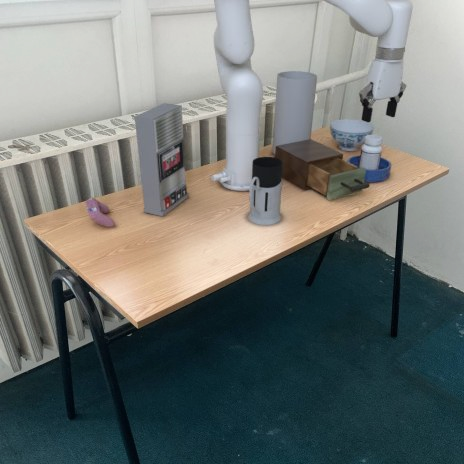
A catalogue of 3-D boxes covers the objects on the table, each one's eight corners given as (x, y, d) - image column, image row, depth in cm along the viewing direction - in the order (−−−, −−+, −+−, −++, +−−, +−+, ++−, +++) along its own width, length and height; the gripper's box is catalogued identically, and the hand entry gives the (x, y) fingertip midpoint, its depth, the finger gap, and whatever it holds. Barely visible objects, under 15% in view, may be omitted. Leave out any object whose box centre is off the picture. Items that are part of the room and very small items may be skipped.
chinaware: (353, 158, 164) (356, 135, 160) (318, 147, 173) (321, 125, 168) (378, 148, 173) (382, 126, 168) (344, 138, 181) (347, 116, 177)
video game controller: (96, 218, 130) (79, 198, 126) (110, 209, 130) (94, 188, 126) (101, 235, 123) (84, 214, 118) (116, 225, 123) (100, 204, 118)
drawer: (375, 198, 137) (379, 174, 133) (341, 207, 132) (345, 183, 128) (329, 174, 150) (332, 153, 146) (297, 182, 145) (299, 160, 141)
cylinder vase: (300, 146, 173) (308, 70, 158) (314, 158, 164) (323, 78, 149) (267, 149, 171) (271, 72, 155) (279, 162, 161) (285, 80, 146)
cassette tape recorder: (163, 217, 128) (155, 120, 113) (144, 213, 130) (133, 116, 115) (189, 197, 138) (184, 105, 123) (170, 193, 140) (164, 102, 125)
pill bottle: (363, 168, 156) (370, 132, 149) (380, 173, 153) (388, 136, 146) (353, 173, 153) (359, 137, 146) (370, 178, 149) (377, 141, 142)
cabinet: (339, 181, 148) (343, 153, 143) (304, 190, 143) (307, 161, 138) (307, 165, 159) (310, 138, 154) (273, 173, 153) (275, 145, 148)
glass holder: (286, 214, 130) (290, 159, 121) (265, 237, 120) (268, 179, 111) (256, 207, 133) (258, 153, 124) (233, 229, 123) (234, 172, 114)
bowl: (366, 186, 146) (368, 173, 143) (336, 171, 155) (338, 159, 152) (397, 177, 151) (400, 165, 149) (367, 164, 160) (369, 152, 158)
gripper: (401, 48, 138) (390, 111, 149) (356, 54, 131) (347, 120, 142) (422, 53, 133) (408, 117, 144) (376, 59, 126) (365, 126, 137)
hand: (378, 118), depth 143 cm, fingers open, 9 cm apart
